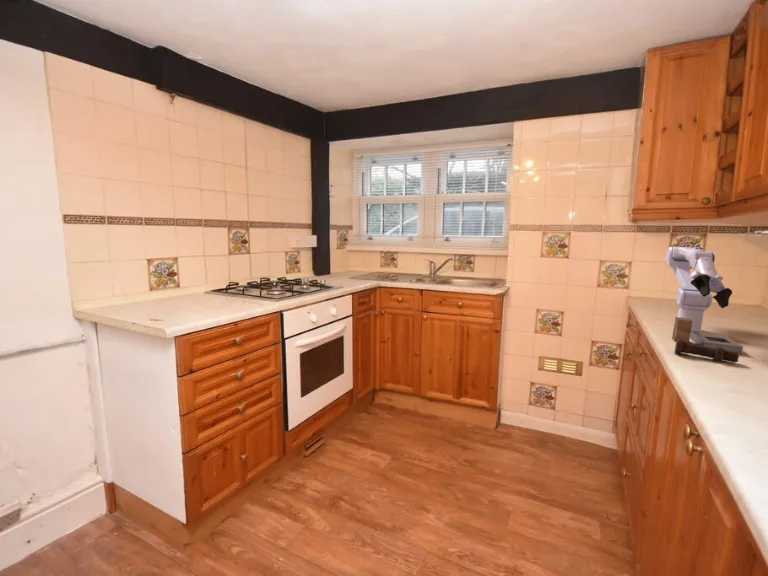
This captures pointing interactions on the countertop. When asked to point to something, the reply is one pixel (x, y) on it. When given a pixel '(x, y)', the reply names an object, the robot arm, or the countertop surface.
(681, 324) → the pin
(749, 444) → the countertop surface
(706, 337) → the collar plate
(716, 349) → the bolt
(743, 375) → the countertop surface
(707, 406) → the countertop surface
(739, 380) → the countertop surface
